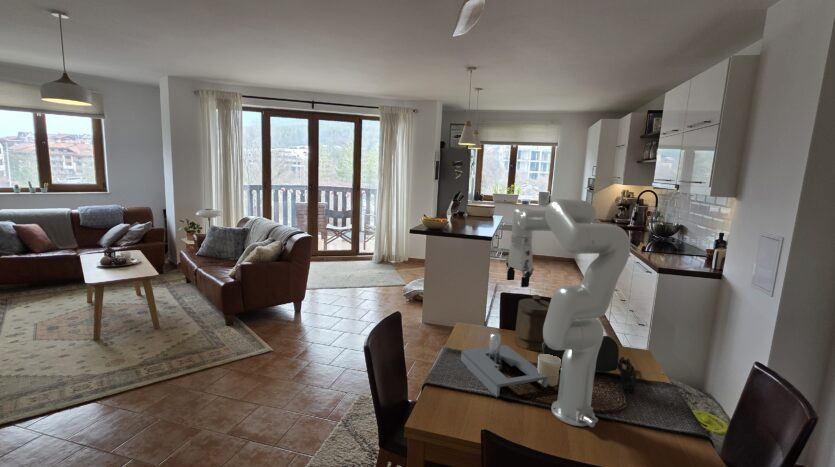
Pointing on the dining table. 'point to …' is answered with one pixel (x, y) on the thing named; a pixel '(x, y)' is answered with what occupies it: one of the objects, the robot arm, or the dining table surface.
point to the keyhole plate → (487, 369)
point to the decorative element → (627, 375)
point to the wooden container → (531, 323)
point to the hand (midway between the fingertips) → (517, 283)
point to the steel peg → (495, 348)
